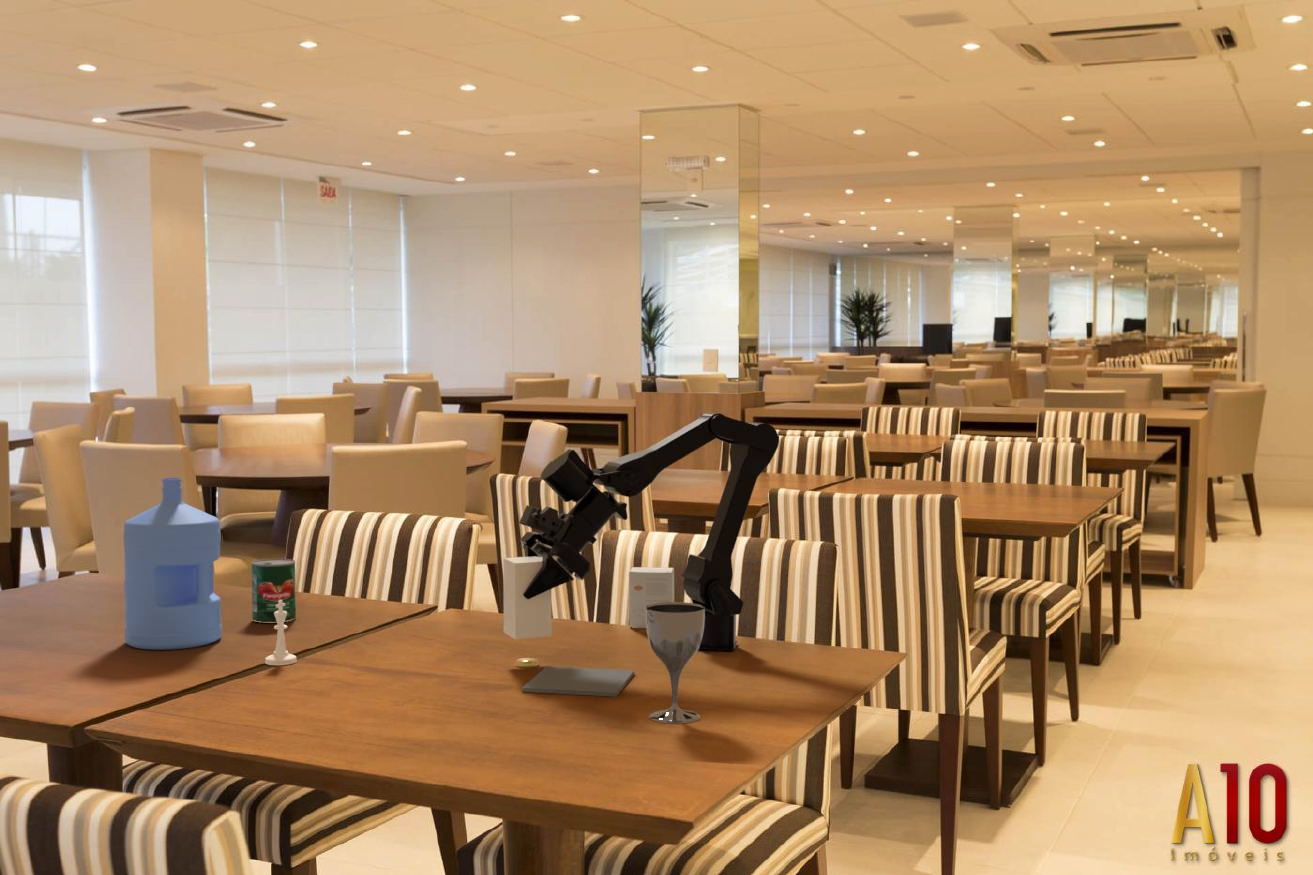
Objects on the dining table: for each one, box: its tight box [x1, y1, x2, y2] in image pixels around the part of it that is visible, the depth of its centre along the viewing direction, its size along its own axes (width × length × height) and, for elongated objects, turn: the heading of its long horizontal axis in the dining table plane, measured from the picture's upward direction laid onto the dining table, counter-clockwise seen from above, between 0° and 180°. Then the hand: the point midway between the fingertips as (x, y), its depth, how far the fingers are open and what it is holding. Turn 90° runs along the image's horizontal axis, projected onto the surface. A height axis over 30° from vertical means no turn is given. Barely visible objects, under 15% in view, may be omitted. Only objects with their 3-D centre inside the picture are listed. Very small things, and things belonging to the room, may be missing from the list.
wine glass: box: [646, 601, 705, 725], centre depth 176 cm, size 8×8×15 cm
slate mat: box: [521, 665, 635, 698], centre depth 195 cm, size 14×14×1 cm
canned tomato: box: [250, 558, 297, 622], centre depth 242 cm, size 8×8×11 cm
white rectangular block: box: [502, 556, 553, 640], centre depth 206 cm, size 6×6×12 cm
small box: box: [628, 566, 675, 629], centre depth 239 cm, size 8×6×10 cm
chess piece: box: [264, 600, 298, 666], centre depth 208 cm, size 5×5×10 cm
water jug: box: [122, 477, 223, 651], centre depth 222 cm, size 16×16×28 cm
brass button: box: [515, 657, 539, 668], centre depth 207 cm, size 4×4×1 cm
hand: (519, 594), depth 206 cm, fingers closed on white rectangular block, 6 cm apart
